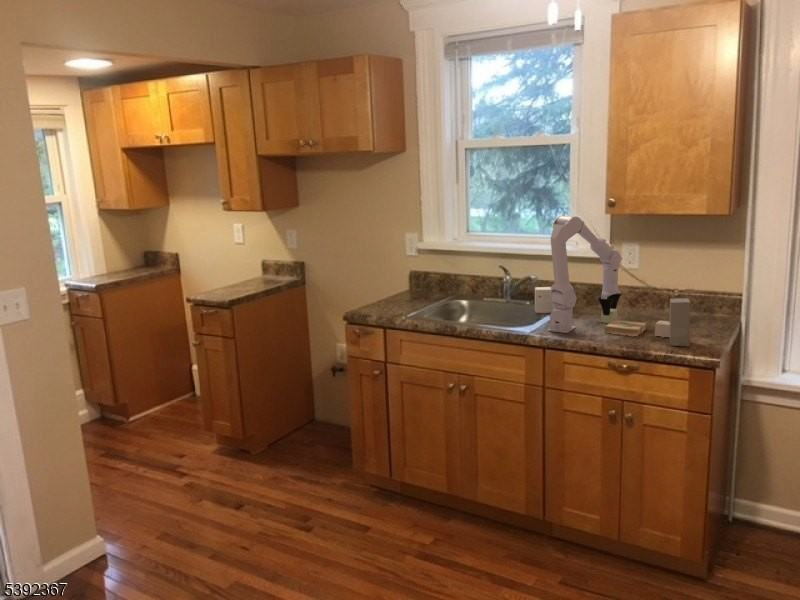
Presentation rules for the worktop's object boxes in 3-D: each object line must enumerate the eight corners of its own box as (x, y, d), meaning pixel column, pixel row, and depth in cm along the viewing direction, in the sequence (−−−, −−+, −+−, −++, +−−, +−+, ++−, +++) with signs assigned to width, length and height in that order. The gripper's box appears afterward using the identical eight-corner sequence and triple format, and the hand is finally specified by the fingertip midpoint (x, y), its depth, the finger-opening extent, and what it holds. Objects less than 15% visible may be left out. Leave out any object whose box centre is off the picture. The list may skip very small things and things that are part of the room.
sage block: (613, 324, 259) (613, 311, 258) (600, 322, 261) (601, 310, 260) (617, 321, 263) (617, 309, 261) (605, 320, 265) (605, 308, 264)
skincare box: (690, 347, 224) (692, 302, 221) (667, 346, 227) (670, 301, 223) (689, 340, 232) (691, 297, 228) (667, 339, 234) (669, 296, 231)
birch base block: (636, 338, 239) (637, 329, 239) (604, 334, 246) (604, 326, 246) (646, 330, 249) (646, 322, 248) (614, 326, 256) (615, 319, 255)
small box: (552, 310, 286) (553, 286, 283) (554, 313, 280) (554, 289, 278) (534, 310, 286) (534, 287, 284) (535, 313, 281) (535, 289, 279)
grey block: (669, 338, 236) (669, 325, 235) (655, 336, 239) (655, 323, 238) (672, 335, 240) (673, 321, 239) (658, 333, 243) (659, 320, 242)
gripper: (614, 283, 250) (613, 318, 253) (626, 277, 262) (625, 310, 265) (596, 282, 254) (595, 316, 257) (608, 276, 266) (607, 308, 269)
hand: (609, 313), depth 261 cm, fingers open, 7 cm apart
